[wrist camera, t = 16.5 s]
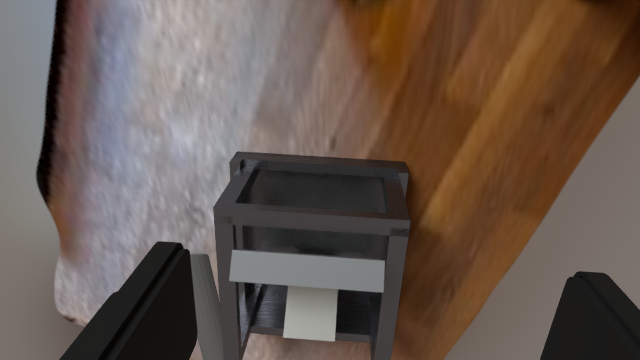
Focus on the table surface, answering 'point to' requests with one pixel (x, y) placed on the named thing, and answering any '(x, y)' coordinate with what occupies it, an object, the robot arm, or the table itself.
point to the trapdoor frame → (312, 239)
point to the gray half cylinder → (207, 308)
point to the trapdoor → (307, 270)
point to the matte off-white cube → (311, 313)
